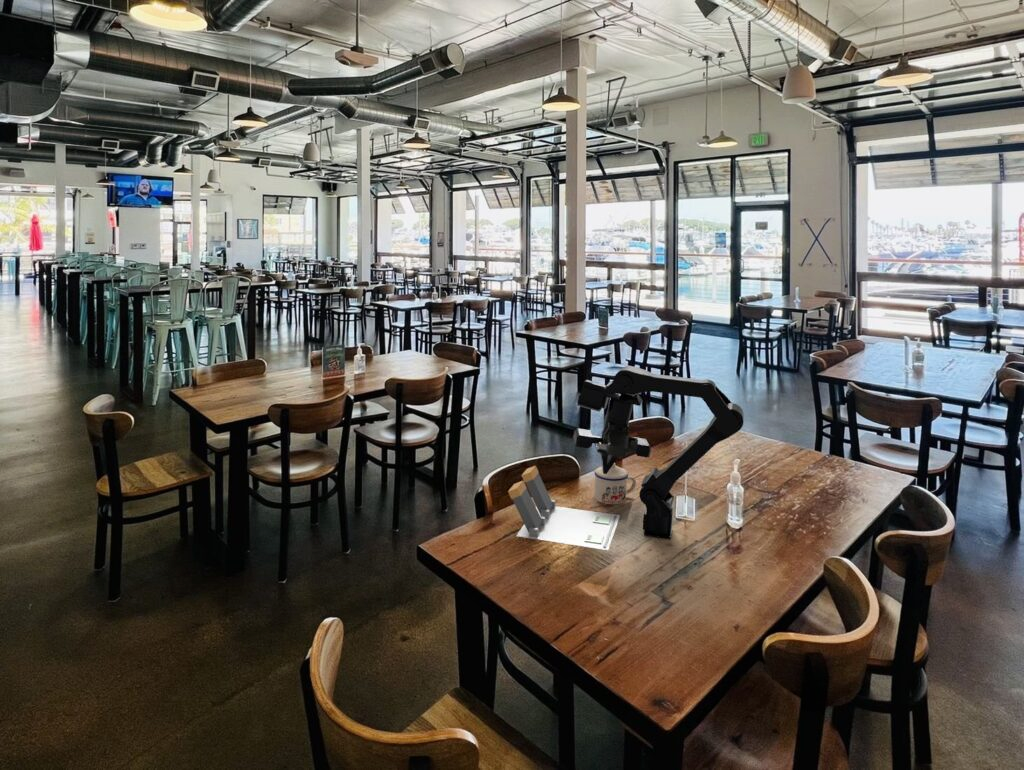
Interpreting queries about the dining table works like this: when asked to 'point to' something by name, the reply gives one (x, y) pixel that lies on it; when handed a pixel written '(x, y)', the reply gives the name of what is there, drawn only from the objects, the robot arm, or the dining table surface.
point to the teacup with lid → (612, 485)
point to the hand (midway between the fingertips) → (604, 473)
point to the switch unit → (574, 527)
